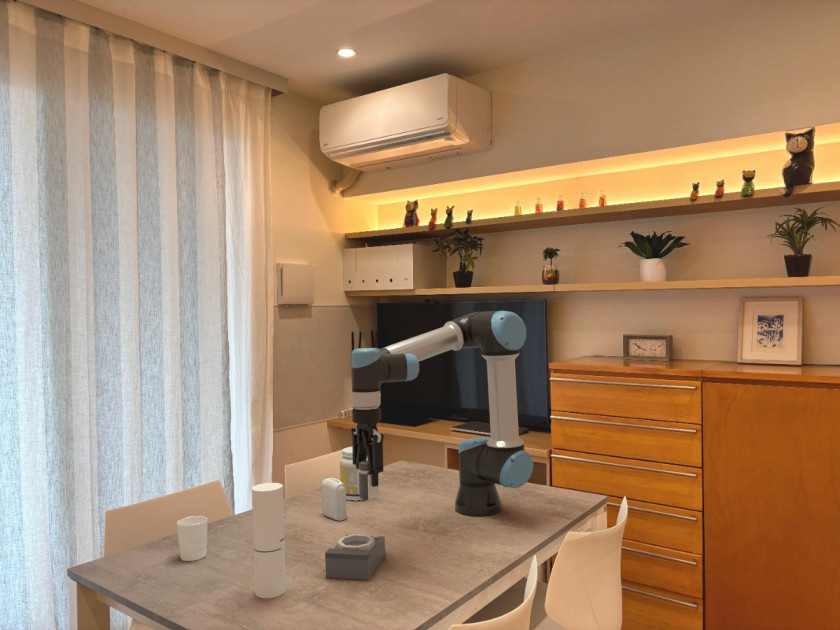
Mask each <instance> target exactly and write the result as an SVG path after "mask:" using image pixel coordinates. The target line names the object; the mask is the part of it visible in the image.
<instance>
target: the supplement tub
mask: <svg viewBox="0 0 840 630" xmlns="http://www.w3.org/2000/svg"><path fill="white" fill-rule="evenodd" d="M341 456H342V457H341V458H340V459H339V471H340V478H339V480H340V481H341V482H342V483H343V484H344V485H345V488H346V501H351V500H353V502H356V501H357V502H359V501H358V500H360V501H366V499H361V498H360V497H359V494H358V478H357V468H356V465H353V451H352V446H348V447H345V448H343V449H342V450H341ZM367 460H368V457H367Z"/></svg>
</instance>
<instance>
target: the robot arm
mask: <svg viewBox="0 0 840 630" xmlns="http://www.w3.org/2000/svg"><path fill="white" fill-rule="evenodd" d="M526 339H527V328H526V325H525V323H524V320H523V319H522V318H521V317H520V316H519V314H517V313H516V312H513V311H506V310H496V311H495V310H494V311H492V310H491V311H475V312H472V313H469V314H465V315H462V316H461V317H458V318H455V319H453V320H449V321H446V322H445V324H444V325H443V326H442V327H439V328H436V329H433V330H430V331H428V332H425V333H421V334H419V335H416V336H413V337H409V338H407V339H405V340H401V341H399V342H395V343H393V344H390V345H387V346H385V347H381V348H377V347H365V348H364V347H362V348H359V347H358V348H355V349H353V350H352V351H351V361H350V368H351V369H350V370H351V406H352V407H353V408H352V411H351V412H352V413H351V414H352V416H351V417H352V423H354V424H356V427H351V430H350V431H351V436H352V439H351V441H352V442H351V443H352V444H351V445H352V446H351V447H352V451H353V465H356V468H357V478H358V494H359V462H361V461H365V460H367V457H368V464H369V472H368V473H367V474H368V499H369V501H370V500H375V499H379V497H380V495H379V491H380V490H379V487H380V486H379V481H380V480H379V474H381V473H383V472H384V446H383V445H384V443H383V442H384V437H385V435H384V434H383V433H379V430H378V427H377V424H378V423H380V422H381V421H382V409H381V407H380V406H381V403H382V402H381V397H382V393H381V384H385V383H396V382H397V383H398V382H408V381H413V380H415V379H416V378H417V377H418V376H419V372H420V362H421V361H424V360H426V359H429V358H432V357H434V356H437V355H440V354H443V353H446V352H448V351H451V350H452V351H455V352H456V351H460V350H463V349H469V348H470V349H473V348H475V349H477V348H478V349H481V357H483V359H485V361H486V368H487V370H486V372H487V388H488V389H487V390H488V392H487V393H488V406H489V409H488V410H489V425H490V436H482V437H472V438H466V439H465V438H464V439H463V440H461V441H460V442H459V443H458V452H457V455H458V474H459V487H458V490H457V492H456V493H457V494H456V497H455V500H454V509H455V511H456V512H457V513H459V514H462V515H466V516H473V517H485V516H491V515H494V514H498V513H499V512H501V510H502V501H501V498H500V495H499V493H498V488H497V485H499V486H502V487H504V488H511V489H519V488H521V487H522V486H525V484H527V482H528V481H529V479H530V478H531V476H532V473H533V470H534V461H533V457H532V456H531V454H530V453H529V452H528V451H526V450H525V441H524V440H523V439H522V438H521V437H520V436H519V435H520V434H519V418H518V417H519V415H518V399H517V397H518V395H517V382H516V381H517V379H516V378H517V376H516V362H515V361H516V359H517V358H518V356H519V355H520V349H521V348H522V347H523V346H524V345H525V342H526Z"/></svg>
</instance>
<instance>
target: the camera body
mask: <svg viewBox="0 0 840 630" xmlns="http://www.w3.org/2000/svg"><path fill="white" fill-rule="evenodd" d="M385 556H386V536H385V535H384V536H382V535H379V534H374V535H370V534H367V533H365V534H364V533H363V534H362V533H361V534H360V533H353V534H345V535H344V536H342V537H340V539H338V541H337V542H336V545H335V546H334V548H328V549H327V550H326V552H324V557H325V558H324V559H325V560H324V561H325V578H326V579H338V580H339V579H341V580H355V581H356V580H358V581H369V580H370V578H371V577H372V576H373V574H374V572H375V571H376V570H377V568H378V567H379V565H380V564H381V562H382V560H383V559H384V558H385Z"/></svg>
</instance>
